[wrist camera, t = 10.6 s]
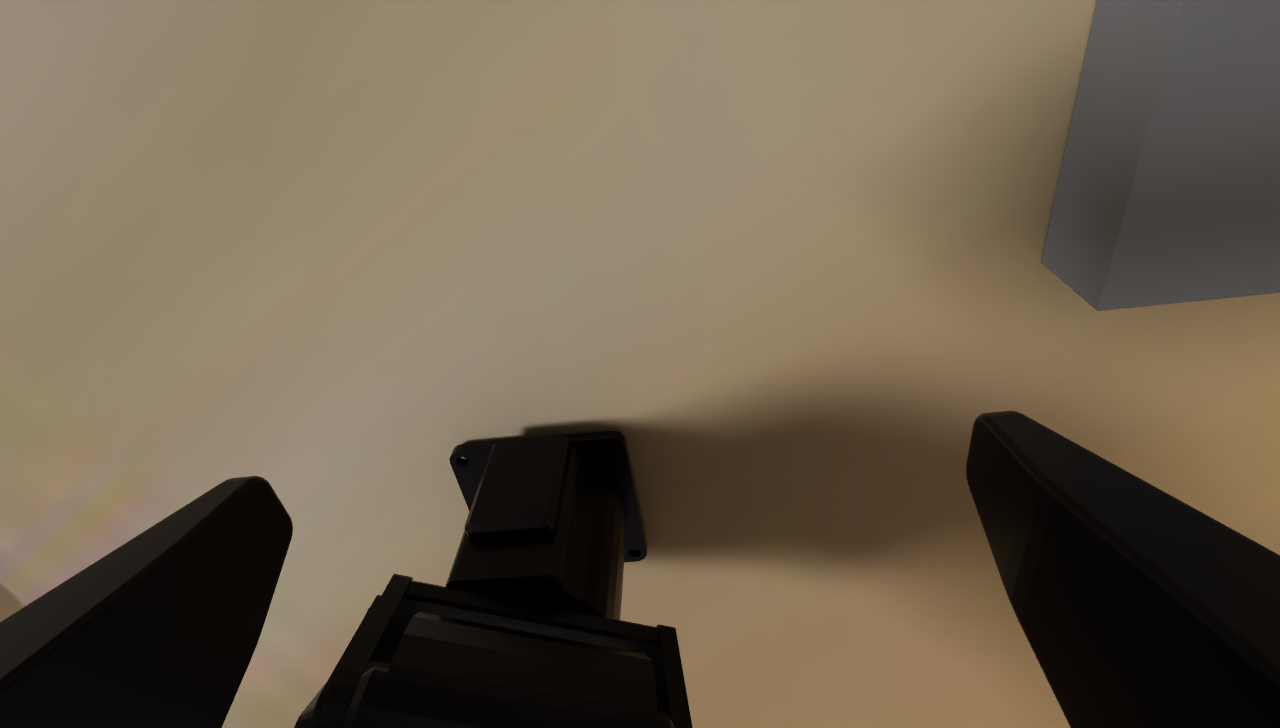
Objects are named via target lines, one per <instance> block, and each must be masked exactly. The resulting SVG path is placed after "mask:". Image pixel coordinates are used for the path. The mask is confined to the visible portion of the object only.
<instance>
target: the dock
mask: <svg viewBox="0 0 1280 728" xmlns="http://www.w3.org/2000/svg"><path fill="white" fill-rule="evenodd" d="M1041 263H1042V264H1044V265H1045V266H1046V267H1047V268H1048V269H1049V270H1051V271H1052V272H1053V273H1054V274H1055V275H1056V276H1058V277H1059V278H1060V279H1061V280H1062V281H1063V282H1064V283H1066V284H1067V285H1068V286H1069V287H1070V288H1071V289H1073V290H1074V291H1075V292H1076V293H1077V294H1078V295H1080V296H1081V297H1082V298H1083V299H1084V300H1085V301H1087V302H1088V303H1089V304H1090V305H1091V306H1092V307H1093V308H1095V309H1096V310H1097V311H1101V310H1111V309H1121V308H1131V307H1141V306H1150V305H1160V304H1170V303H1180V302H1190V301H1200V300H1210V299H1220V298H1230V297H1240V296H1250V295H1260V294H1270V293H1280V0H1097V2H1096V7H1095V11H1094V16H1093V21H1092V25H1091V30H1090V35H1089V39H1088V44H1087V49H1086V53H1085V58H1084V63H1083V68H1082V72H1081V77H1080V82H1079V86H1078V91H1077V96H1076V100H1075V105H1074V110H1073V115H1072V119H1071V124H1070V129H1069V133H1068V138H1067V143H1066V147H1065V152H1064V157H1063V161H1062V166H1061V171H1060V176H1059V180H1058V185H1057V190H1056V194H1055V199H1054V204H1053V208H1052V213H1051V218H1050V223H1049V227H1048V232H1047V237H1046V241H1045V246H1044V251H1043V255H1042V260H1041Z"/></svg>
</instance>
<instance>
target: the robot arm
mask: <svg viewBox="0 0 1280 728" xmlns="http://www.w3.org/2000/svg"><path fill="white" fill-rule="evenodd" d="M608 444H615V445H617V447H610V446H608ZM461 457H466V458H468V459H469V460H465V459H463V458H461ZM450 464H451V466H452V469H453V471H454V474H455V476H456V479H457V481H458V484H459V486H460V489H461V491H462V494H463V496H464V499H465V501H466V504H467V506H468V509H469V511H470V512H469V515H468V518H467V521H466V524H465V531H464V534H463V537H462V540H461V543H460V546H459V549H458V551H457V554H456V557H455V560H454V563H453V566H452V569H451V572H450V575H449V578H448V581H447V584H446V587H443V586H438V585H433V584H428V583H423V582H417V581H412V580H413V577H408V576H403V575H398V574H394V575H393V577H392V578H391V580H390V582H389V584H388V585H387V587H386V589H385V591H384V592H383V594H382V596H381V595H377V597H376V598H375V600H374V602H373V603H372V605H371V607H370V608H369V609H368V611H367V613H366V615H365V617H364V619H363V621H362V622H361V624H360V626H359V628H358V629H357V631H356V633H355V634H354V636H353V638H352V640H351V641H350V643H349V645H348V647H347V648H346V650H345V652H344V654H343V655H342V657H341V659H340V660H339V662H338V664H337V666H336V667H335V669H334V671H333V673H332V674H331V676H330V678H329V679H328V681H327V682H326V684H325V685H324V686H323V687H322V689H321V690H320V691H319V692H318V694H317V695H316V696H315V697H314V699H313V700H312V701H311V702H310V703H309V705H308V706H307V707H306V708H305V710H304V711H303V712H302V713H301V715H300V716H299V718H298V720H297V722H296V724H295V727H294V728H692V722H691V717H690V711H689V705H688V699H687V693H686V687H685V681H684V676H683V670H682V664H681V658H680V652H679V646H678V640H677V634H676V629H675V628H674V627H669V626H664V625H657V627H653V626H647V625H642V624H637V623H632V622H626V621H621V620H620V613H621V599H622V584H623V570H624V562H635V561H641V560H642V559H644V558H645V557H646V556H647V542H646V536H645V531H644V526H643V521H642V516H641V511H640V506H639V501H638V496H637V491H636V486H635V481H634V476H633V471H632V466H631V461H630V456H629V451H628V446H627V441H626V438H625V436H623V435H622V434H621V433H619V432H616V431H606V432H594V433H583V434H572V435H561V436H549V437H538V438H527V439H516V440H504V441H493V442H482V443H471V444H461V445H458V446H456V447H455V448H454V450H453V452H452V455H451V457H450ZM966 475H967V481H968V485H969V488H970V491H971V494H972V497H973V500H974V503H975V505H976V508H977V511H978V514H979V517H980V520H981V522H982V525H983V528H984V531H985V534H986V537H987V539H988V542H989V545H990V548H991V551H992V554H993V556H994V559H995V562H996V565H997V568H998V571H999V573H1000V576H1001V579H1002V582H1003V585H1004V587H1005V590H1006V593H1007V595H1008V598H1009V600H1010V603H1011V605H1012V607H1013V609H1014V612H1015V614H1016V616H1017V618H1018V620H1019V623H1020V625H1021V627H1022V629H1023V631H1024V633H1025V635H1026V637H1027V639H1028V641H1029V643H1030V645H1031V647H1032V649H1033V651H1034V653H1035V655H1036V658H1037V660H1038V662H1039V664H1040V666H1041V668H1042V670H1043V672H1044V674H1045V676H1046V678H1047V680H1048V682H1049V684H1050V686H1051V688H1052V690H1053V692H1054V694H1055V696H1056V699H1057V701H1058V703H1059V705H1060V707H1061V709H1062V711H1063V713H1064V715H1065V717H1066V719H1067V721H1068V723H1069V725H1070V727H1071V728H1280V555H1278V554H1276V553H1275V552H1273V551H1271V550H1269V549H1267V548H1265V547H1264V546H1262V545H1260V544H1258V543H1256V542H1255V541H1253V540H1251V539H1249V538H1247V537H1245V536H1244V535H1242V534H1240V533H1238V532H1236V531H1234V530H1233V529H1231V528H1229V527H1227V526H1225V525H1224V524H1222V523H1220V522H1218V521H1216V520H1214V519H1213V518H1211V517H1209V516H1207V515H1205V514H1203V513H1202V512H1200V511H1198V510H1196V509H1194V508H1193V507H1191V506H1189V505H1187V504H1185V503H1183V502H1182V501H1180V500H1178V499H1176V498H1174V497H1173V496H1171V495H1169V494H1167V493H1165V492H1163V491H1162V490H1160V489H1158V488H1156V487H1154V486H1152V485H1151V484H1149V483H1147V482H1145V481H1143V480H1142V479H1140V478H1138V477H1136V476H1134V475H1132V474H1131V473H1129V472H1127V471H1125V470H1123V469H1121V468H1120V467H1118V466H1116V465H1114V464H1112V463H1111V462H1109V461H1107V460H1105V459H1103V458H1101V457H1100V456H1098V455H1096V454H1094V453H1092V452H1090V451H1089V450H1087V449H1085V448H1083V447H1081V446H1080V445H1078V444H1076V443H1074V442H1072V441H1070V440H1069V439H1067V438H1065V437H1063V436H1061V435H1060V434H1058V433H1056V432H1054V431H1052V430H1050V429H1049V428H1047V427H1045V426H1043V425H1041V424H1039V423H1038V422H1036V421H1034V420H1032V419H1030V418H1029V417H1027V416H1025V415H1023V414H1021V413H1019V412H1016V411H1003V412H992V413H983V414H981V415H979V416H978V417H977V418H976V420H975V422H974V425H973V431H972V436H971V442H970V448H969V453H968V459H967V465H966ZM292 532H293V526H292V521H291V518H290V516H289V514H288V513H287V511H286V509H285V508H284V506H283V505H282V503H281V501H280V500H279V498H278V497H277V495H276V493H275V492H274V490H273V488H272V487H271V485H270V484H269V482H268V481H267V480H265V479H264V478H262V477H258V476H250V477H239V478H232V479H228V480H226V481H224V482H222V483H221V484H219V485H218V486H216V487H214V488H213V489H211V490H210V491H208V492H206V493H205V494H203V495H202V496H200V497H198V498H197V499H195V500H194V501H192V502H191V503H189V504H187V505H186V506H184V507H183V508H181V509H179V510H178V511H176V512H175V513H173V514H171V515H170V516H168V517H167V518H165V519H163V520H162V521H160V522H159V523H157V524H156V525H154V526H152V527H151V528H149V529H148V530H146V531H144V532H143V533H141V534H140V535H138V536H136V537H135V538H133V539H132V540H130V541H129V542H127V543H125V544H124V545H122V546H121V547H119V548H117V549H116V550H114V551H113V552H111V553H109V554H108V555H106V556H105V557H103V558H101V559H100V560H98V561H97V562H95V563H94V564H92V565H90V566H89V567H87V568H86V569H84V570H82V571H81V572H79V573H78V574H76V575H74V576H73V577H71V578H70V579H68V580H66V581H65V582H63V583H62V584H60V585H59V586H57V587H55V588H54V589H52V590H51V591H49V592H47V593H46V594H44V595H43V596H41V597H39V598H38V599H36V600H35V601H33V602H32V603H30V604H28V605H27V606H25V607H24V608H22V609H20V610H19V611H17V612H16V613H14V614H12V615H11V616H9V617H8V618H6V619H4V620H3V621H1V622H0V728H222V725H223V723H224V721H225V718H226V716H227V714H228V711H229V709H230V707H231V704H232V702H233V700H234V697H235V695H236V693H237V691H238V688H239V686H240V684H241V681H242V679H243V677H244V674H245V672H246V670H247V667H248V665H249V663H250V660H251V658H252V655H253V653H254V650H255V648H256V645H257V643H258V640H259V637H260V634H261V631H262V628H263V625H264V622H265V619H266V616H267V613H268V610H269V607H270V603H271V600H272V597H273V594H274V591H275V588H276V585H277V582H278V579H279V576H280V572H281V569H282V566H283V563H284V560H285V557H286V554H287V551H288V548H289V544H290V541H291V538H292ZM635 549H636V550H635Z"/></svg>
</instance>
